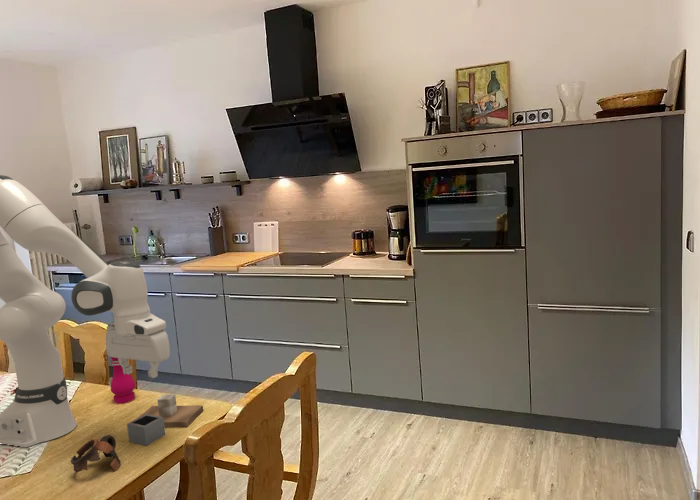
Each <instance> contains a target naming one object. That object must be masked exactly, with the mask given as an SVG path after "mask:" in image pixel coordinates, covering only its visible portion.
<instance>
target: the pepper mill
mask: <svg viewBox="0 0 700 500" xmlns="http://www.w3.org/2000/svg"><path fill="white" fill-rule="evenodd" d="M109 358H110V364H111V365H112V368H113V375H112V379H111V381H110V392H111V393H112V394H113V397H112V398H113V403H115V404H119V405H120V404H126V403H130V402H132V401H134V400H135V399H136V394H135V391H134V390H135V388H136V383H135V379H134V378H133V376H132V373H131V374H124V373H123V368H122V366H121V365H120V363H119V361H118V358H115V357H109Z"/></svg>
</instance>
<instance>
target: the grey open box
mask: <svg viewBox="0 0 700 500" xmlns="http://www.w3.org/2000/svg"><path fill="white" fill-rule="evenodd" d="M138 417H139V416H138ZM138 417H136V419H134V420H132V421H129V422H127V423H126V428H127V432H128V433H127V434H128V442H129V443H133V444H136V445H141V446H144V447H148V446H149V445H151V444H154V442H156V441H158V440H160V439H161V438H163V437H165V436H166V429H165V428H166V427H165V426H164V418H163V417H160V416H155V415H150V414H145V415H143V416H141V417H139V418H138Z"/></svg>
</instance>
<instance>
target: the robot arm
mask: <svg viewBox="0 0 700 500" xmlns="http://www.w3.org/2000/svg"><path fill="white" fill-rule="evenodd" d="M0 227H1V229H2V230H4V232H5V233H6V234H7V235H8V236H9V237H10V239H12V240H13V242H15V243H16V244H18V245H19V246H20V247H22V248H24V249H25V250H27V251H31V252H34V253H35V252H36V253H45V254H51V255H55V256H59V257H62V258H64V259H65V260H67V261H69V262H70V263H71V264H72V265H73V266H74V267H75V268H77V270H79V271H80V273H82V274H83V275H85V277H86V278H83V279H82V280H81V281H79V282H77V283H76V284H75V285H74V286H73V288H72V290H71V296H70V297H71V298H70V299H71V303H72V306H73V307H74V309H76V310H77V312H79V313H80V314H82V315H84V316H97V315H98V316H99V315H101V314H102V313H106V312H111V313H112V314H113V321H110V322H109V323H108V325H107V326H106V332H105V348H106V349H105V350H106V354H107V355H108V357H109V358H110V357H115V358H118V361H119V363H120V365H121V366H122V368H123V373H124V374H131V375H132V373H133V372H134V371H133V366H131V365H130V362H129V360H133V361H141V362H148V364H149V366H150V369H149V370H148V371H147V374H148V378H151V379H155V378H157V377H158V375H159V373H158V369H159V366H160V364H161V363H163V362H165V361H167V360H169V358H170V356H171V348H170V347H171V346H170V342H169V335H168V334H167V332H166V329H167V323H166V321H165V320H164V319H162V318H160V317H158V316H156V315H155V314H154V313H151V308H150V306H149V303H148V293H149V292H148V287H147V286H148V285H147V280H146V276H145V272H144V270H143V268H142V266H141V264H139V263H138V262H135V261H130V260H118V261H113V262H110V263H108V262H107V261H106V260H105V259H104V258H103V257H102V256H101V255H100V254H98V252H97V251H95V250H94V249H93V248H92V246H90V245H89V244H88V243H87V242H86V241H85V240H83V239H82V238H81V237H80V236H79V235H78V234H76V233H75V232H74V231H72V229H70V228H69V227H68V226H67V225H65V223H63V222H62V221H61V220H60V219H59V218H58V217H57V216H55V214H53V212H51V210H50V209H49V208H48V207H47V206H46V205H45V204H44V203H43V201H41V199H39V198H38V197H37V196H36V195H35V194H34V193H33V192H32V191H31V190H29V189H28V188H27V187H25V186H24V185H23V184H22V183H20V182H19V181H17V180H14V179H13V178H11V177H10V176H8V175H3V174H0ZM0 300H2V301H3V302H4V303H5V304H4V305H3V306H2V307H0V340H1V341H2V342H3V343H4V344H5V345H6V347H7V349H8V351H9V353H10V355H11V358H12V361H13V364H14V369H15V370H14V371H15V375H16V381H17V386H16V388H14V389H12V390H11V391H9V393H10V395H9V396H13V395H14V398H13V401H12V402H11V403H10V404H9V405H8V406H7V407H5V408H4V410H3V411H2V412H0V443H2V444H9V445H14V446H13V447H17V446H20V447H19V448H28V447H31V446H34V445H37V444H39V443H40V444H41V443H44V442H48V441H52V440H54V439H57V438H60V437H62V436H65V435H67V434H68V433H70V432H72V431H73V430H74V429H75V428H76V427H77V426H78V423H77V421H76V419H75V417H74V414H73V412H72V409H71V406H70V402H69V399H68V385H67V381H66V377H64V371H63V364H62V358H61V352H60V350H59V349H58V348H57V347H55V346H54V344H53V342H52V339H51V338H50V335H49V329H50V328H51V327H54V326H55V325H57V323H58V322H59V321H60V320H61V319H62V317H63V316H64V315H65V312H66V310H67V309H66V307H67V306H66V305H67V304H66V301H65V299H64V297H63V296H62V295H61V294H60V293H58V292H56V291H54V290H52V289H50V288H48V286H46V284H44V283H43V282H42V281H41V280H40V279H39V278H38V277H36V276H35V275H34V273H32V272H31V271H30V270H29V268H28V267H26V265H25V264H24V262H23V260H21V257H19V255H18V254H17V252H16V250H14V248H13V247H12V246H11V244H10V243H9V241H8V240H7V239H6V237H5V236H4V234H2V232H1V231H0ZM9 445H8V446H9Z"/></svg>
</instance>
